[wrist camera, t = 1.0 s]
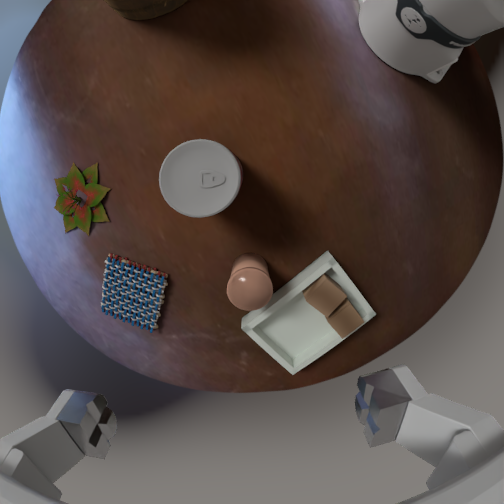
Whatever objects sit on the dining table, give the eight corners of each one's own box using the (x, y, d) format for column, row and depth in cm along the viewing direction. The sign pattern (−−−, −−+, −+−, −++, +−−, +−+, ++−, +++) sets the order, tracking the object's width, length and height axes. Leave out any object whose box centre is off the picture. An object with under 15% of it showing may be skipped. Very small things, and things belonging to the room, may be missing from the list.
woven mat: (172, 271, 41) (168, 276, 39) (158, 328, 44) (155, 335, 42) (110, 248, 40) (104, 252, 38) (102, 306, 43) (97, 312, 41)
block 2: (342, 292, 41) (350, 304, 37) (355, 309, 42) (364, 322, 38) (321, 308, 42) (327, 322, 38) (335, 325, 43) (342, 339, 39)
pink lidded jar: (251, 243, 39) (252, 259, 33) (277, 271, 41) (282, 292, 34) (222, 268, 40) (217, 288, 34) (248, 294, 42) (247, 318, 35)
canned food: (250, 194, 38) (250, 205, 27) (192, 211, 38) (171, 228, 28) (234, 139, 35) (228, 127, 25) (176, 156, 36) (149, 154, 25)
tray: (327, 250, 40) (333, 256, 37) (369, 305, 42) (376, 314, 39) (241, 318, 43) (241, 328, 40) (290, 363, 45) (292, 374, 42)
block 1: (320, 268, 40) (327, 279, 36) (339, 284, 41) (347, 296, 37) (301, 289, 41) (306, 301, 37) (320, 304, 41) (327, 317, 38)
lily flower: (63, 242, 40) (47, 250, 35) (48, 172, 36) (31, 174, 32) (122, 228, 39) (108, 236, 35) (106, 149, 36) (91, 148, 31)
